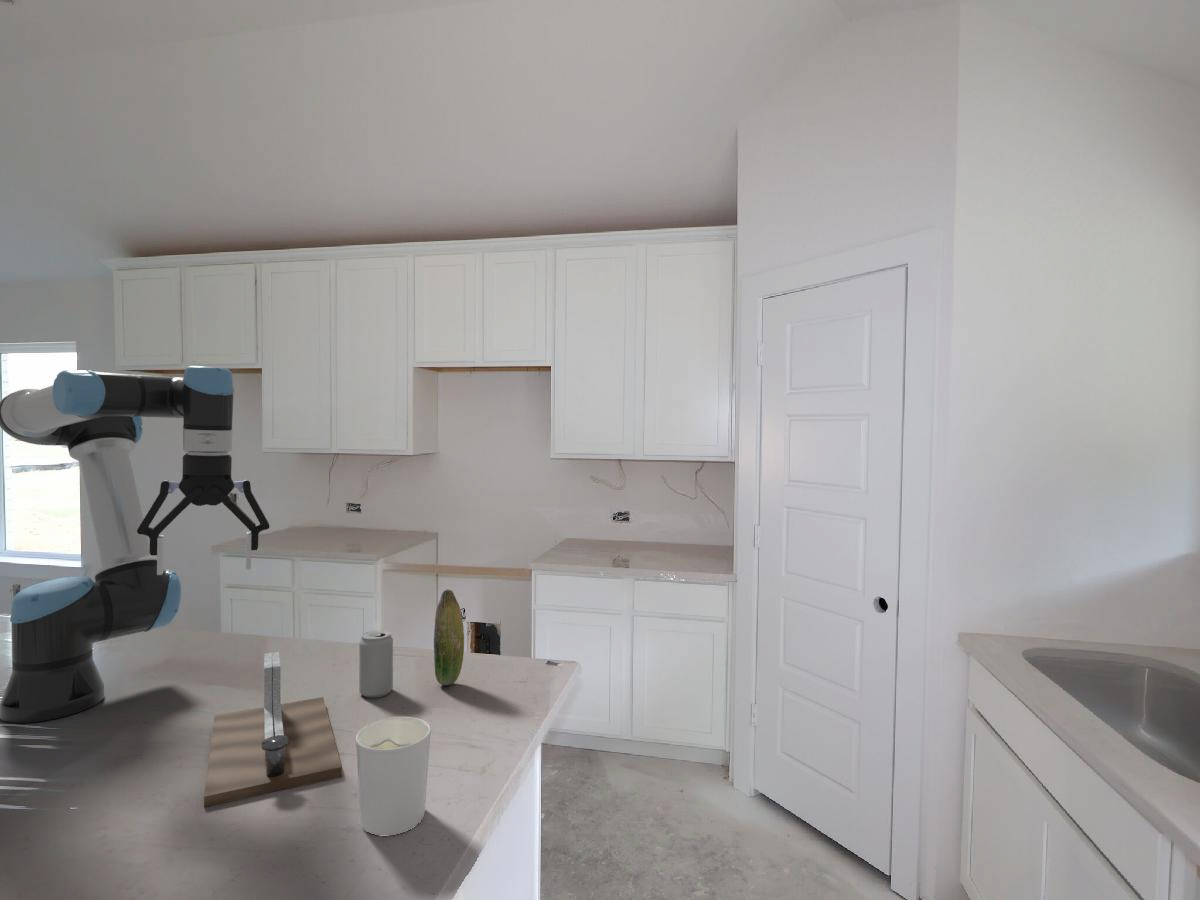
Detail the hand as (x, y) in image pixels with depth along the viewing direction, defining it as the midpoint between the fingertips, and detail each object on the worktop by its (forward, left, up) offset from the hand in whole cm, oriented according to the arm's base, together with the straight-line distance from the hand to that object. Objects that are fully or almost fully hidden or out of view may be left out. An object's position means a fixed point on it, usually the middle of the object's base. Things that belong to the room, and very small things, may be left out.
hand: (205, 570), depth 118 cm
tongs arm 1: (+16, +10, -25) cm, 31 cm away
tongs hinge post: (+29, +10, -26) cm, 40 cm away
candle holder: (+46, +24, -27) cm, 59 cm away
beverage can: (+1, +29, -27) cm, 40 cm away
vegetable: (+4, +43, -27) cm, 52 cm away
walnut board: (+17, +10, -27) cm, 34 cm away
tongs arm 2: (+16, +11, -25) cm, 32 cm away
